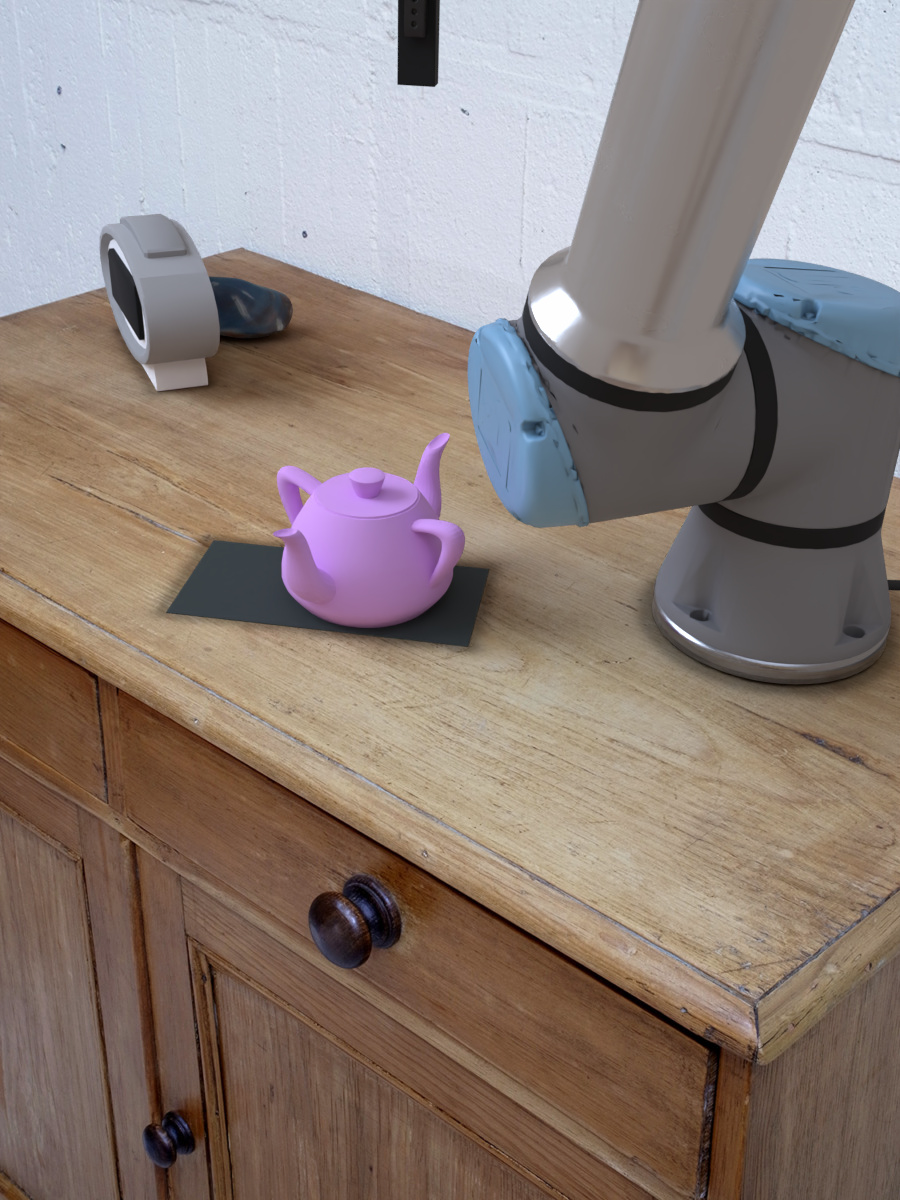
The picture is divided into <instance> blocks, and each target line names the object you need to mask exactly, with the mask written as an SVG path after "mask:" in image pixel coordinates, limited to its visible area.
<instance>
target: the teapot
mask: <svg viewBox="0 0 900 1200" xmlns="http://www.w3.org/2000/svg"><path fill="white" fill-rule="evenodd" d="M450 437H451V435H450V433H448V432H443V433H440V434H438V435H436V436H435V437H434V438H433V439H432V440H430V442H429V443H428V444H427V445H426V447H425V449H424V451H423V453H422V455H421V458H420V461H419V463H418V466H417V471H416V474H415V478H414V481H413V483H412V482H411V481H410V480H408V479H406V478H404V477H402V476H399V475H396V474H392V473H390V472H384V471H383V470H381V469H379V468H375V467H372V466H371V467H370V466H369V467H367V466H365V467H364V466H363V467H358V468H355V469H352V470H351V471H350V472H346V473H345V472H344V473H342V474H339V475H335V476H332V477H330V478H328V479H326V480H325V481H324V482H321V481H320V480H318V479H317V478H316V477H314V476H313V475H312V474H310V473H308V472H307V471H306V470H303V469H302V468H300V467H298V466H294V465H285V466H282V467H281V468H280V469H279V470H278V471H277V474H276V484H277V485H276V486H277V490H278V494H279V498H280V500H281V504H282V505H283V509H284V511H285V513H286V515H287V516H286V517H287V518H288V520H289V522H290V525H291V526H290V527H288V528H286V527H285V528H281V529H278V530H275V531H274V532H272V536H273V537H275V538H278V539H280V540H282V542H283V543H284V551H283V557H282V579H283V582H284V585H285V587H286V589H287V590H288V592H289V593H290V594H291V596H292V597H293V598H294V599H295V600H296V601H297V602H298V603H299V604H301V605H302V606H303V607H304V608H305V609H307V610H308V611H309V612H310V613H312V614H314V615H315V616H317V617H319V618H321V619H323V620H325V621H328V622H331V623H334V624H338V625H342V626H348V627H356V628H379V627H387V626H392V625H397V624H400V623H404V622H407V621H409V620H412V619H414V618H416V617H418V616H419V615H421V614H423V613H424V612H425V611H426V610H428V609H429V608H430V607H431V606H433V605H434V604H435V603H436V602H437V601H438V600H439V599H440V598H441V597H442V596H443V595H444V593H445V592H446V591H447V589H448V587H449V586H450V583H451V581H452V577H453V568H454V567H455V565H457V564H458V562H459V561H460V559H461V557H462V555H463V553H464V551H465V550H464V549H465V546H466V536H465V532H464V531H463V529H462V528H461V527H460V526H459V525H457V524H456V523H454V522H450V521H447V520H443V519H442V520H441V519H440V517H441V512H442V500H443V499H442V498H443V497H442V489H441V477H440V475H441V474H440V466H441V459H442V455H443V452H444V450H445V448H446V446H447V444H448V442H449V440H450ZM300 489H301V490H302V491H303V492H305V493H306V494H308V495H309V497H308V498H307V500H306V502H305V503H303V500H302V497H301V491H300Z"/></svg>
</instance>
